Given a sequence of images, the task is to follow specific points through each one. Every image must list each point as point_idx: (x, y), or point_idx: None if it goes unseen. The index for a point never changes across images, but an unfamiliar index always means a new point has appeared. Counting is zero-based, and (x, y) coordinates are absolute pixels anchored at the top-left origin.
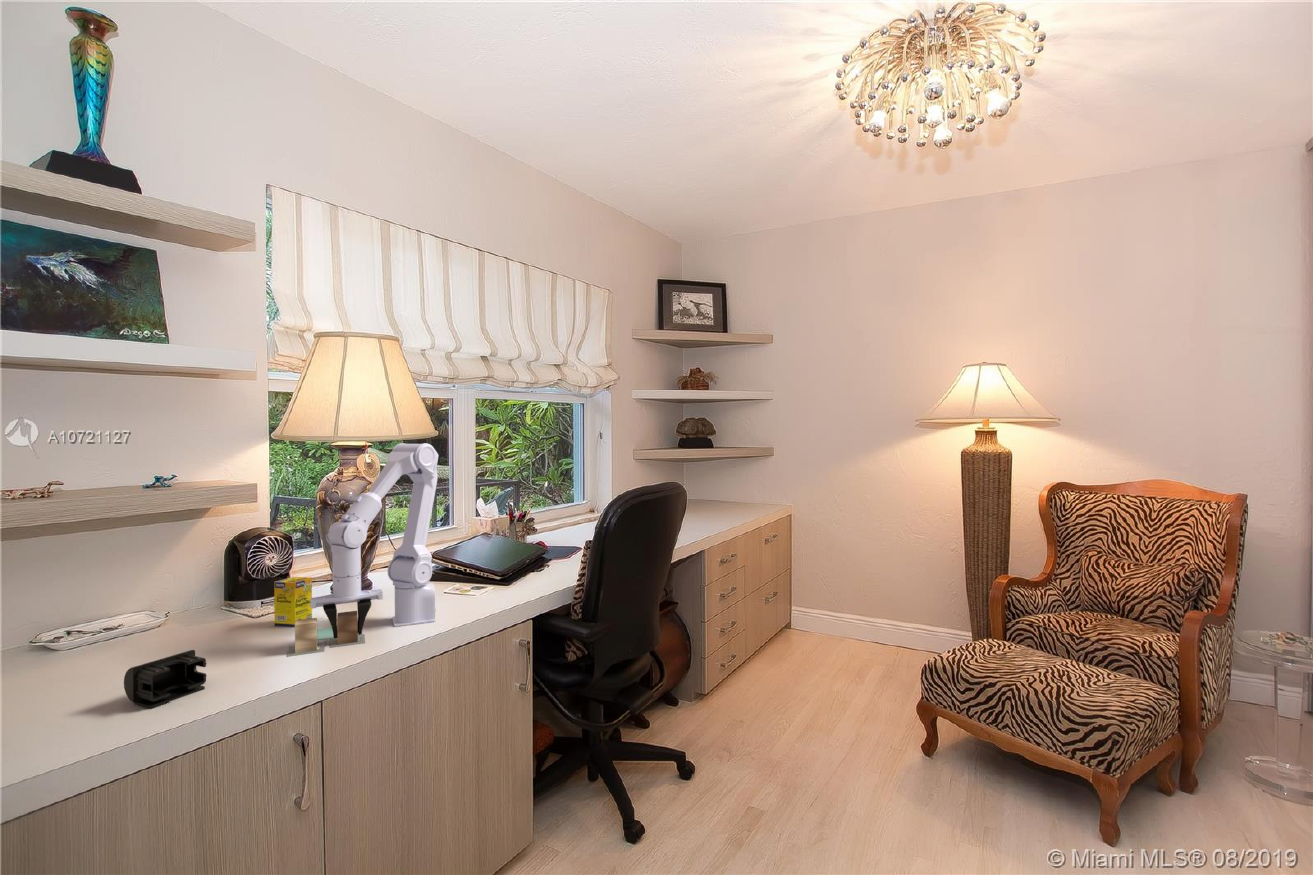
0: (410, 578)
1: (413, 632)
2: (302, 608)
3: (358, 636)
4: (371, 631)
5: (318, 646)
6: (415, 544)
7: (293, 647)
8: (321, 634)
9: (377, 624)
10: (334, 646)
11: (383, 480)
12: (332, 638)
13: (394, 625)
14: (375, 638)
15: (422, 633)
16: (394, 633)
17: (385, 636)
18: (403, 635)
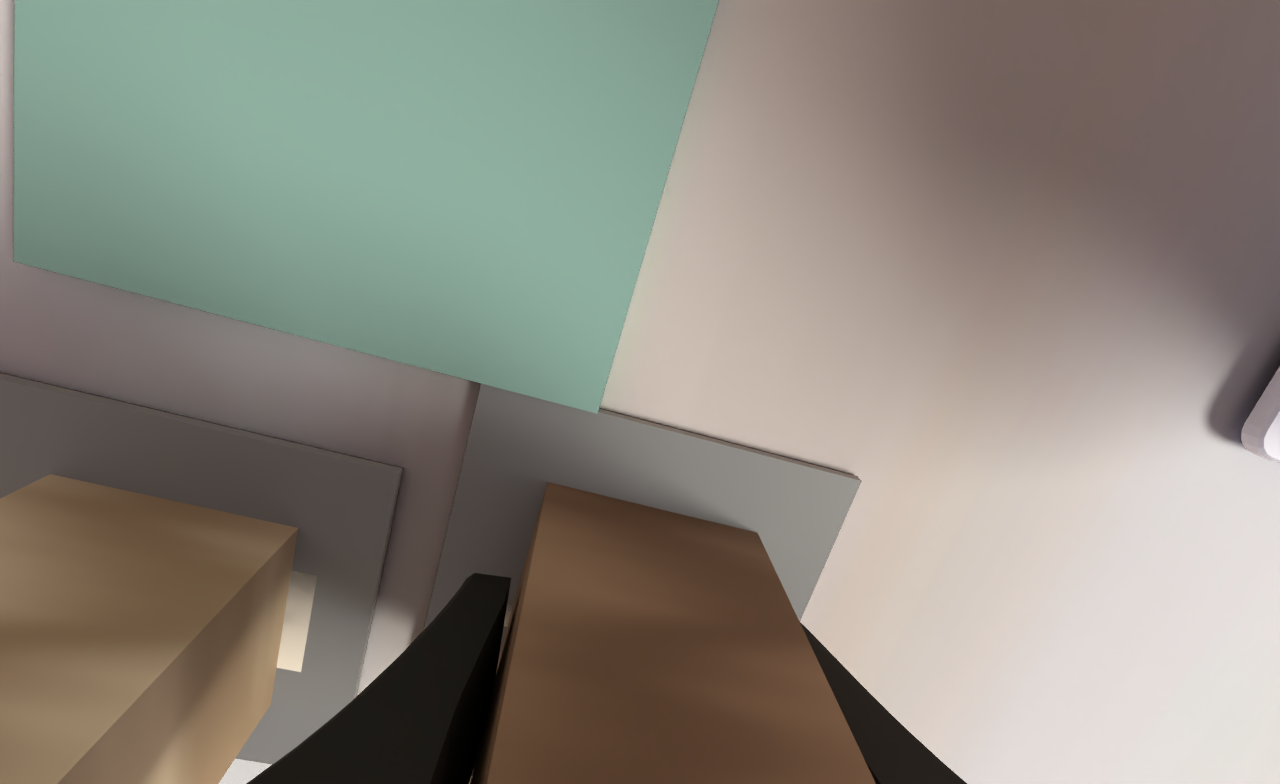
0: None
1: (1219, 707)
2: None
3: (770, 528)
4: (977, 390)
5: (303, 594)
6: None
7: (9, 447)
8: (400, 104)
9: (1203, 111)
10: None
11: None
12: (500, 400)
13: (1255, 441)
14: (880, 661)
15: (1242, 779)
16: (1092, 627)
17: (980, 662)
18: (1105, 733)
